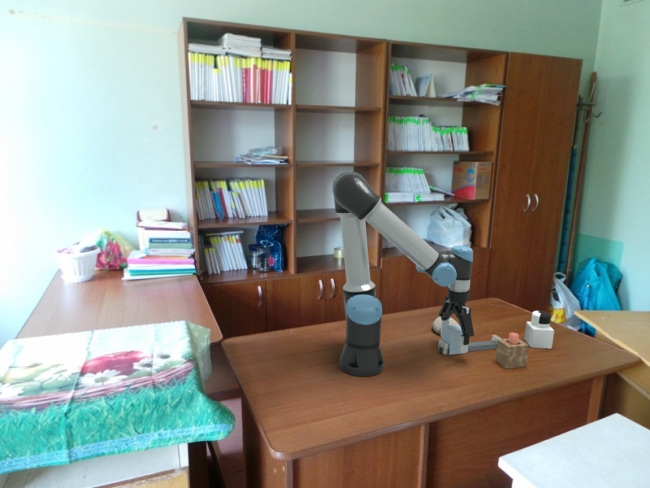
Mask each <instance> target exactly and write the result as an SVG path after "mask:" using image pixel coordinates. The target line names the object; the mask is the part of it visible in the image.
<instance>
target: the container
mask: <svg viewBox="0 0 650 488" xmlns="http://www.w3.org/2000/svg"><path fill="white" fill-rule="evenodd" d="M551 321H552V314H550V313H548V312H547V311H544V310H534V311H533V312H532V313H531V320H530V321H526V323H525V331H524V340H525V341H524V342H525V343H527V344H528V345H529V348H531V349H546V348H547V350H548V349H549V350H551V349H552V348H553V341H554V333H555V330H554V329H553V328H552V326H550V325H551Z"/></svg>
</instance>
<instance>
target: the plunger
mask: <svg viewBox="0 0 650 488" xmlns="http://www.w3.org/2000/svg"><path fill="white" fill-rule="evenodd" d="M519 337H520V335H519V333H518V332H513V331H512V332H510V333H509V335H508V339H509V342H508V343H509V344H511V345H518V339H520V338H519Z"/></svg>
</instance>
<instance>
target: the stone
mask: <svg viewBox="0 0 650 488" xmlns="http://www.w3.org/2000/svg"><path fill="white" fill-rule="evenodd" d="M448 320H449V325H460V323H458V321H456V320H455V319H454V318H453V317H451V316H450V319H448ZM441 327H442V320H441V317H439V316H438V317H436V319H435V320H434V321H433V323H432V329H433V331H434V332H435V334H437V335H438V336H440V337H441Z"/></svg>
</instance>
